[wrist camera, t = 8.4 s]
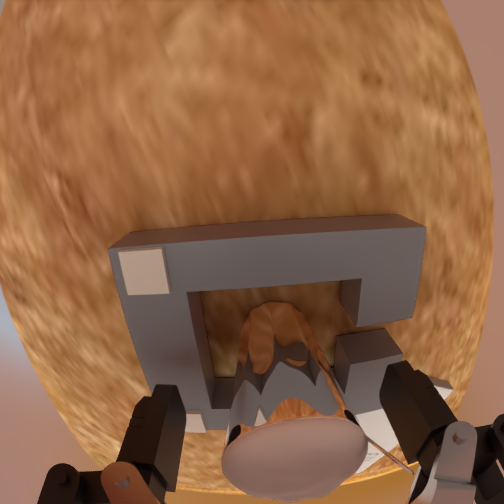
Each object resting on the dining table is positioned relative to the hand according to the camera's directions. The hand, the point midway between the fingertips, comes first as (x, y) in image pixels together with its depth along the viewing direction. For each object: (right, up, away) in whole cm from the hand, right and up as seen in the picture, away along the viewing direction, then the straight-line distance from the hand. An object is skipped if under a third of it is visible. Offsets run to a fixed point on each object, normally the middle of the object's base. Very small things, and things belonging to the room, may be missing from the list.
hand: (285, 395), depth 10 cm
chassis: (0, +1, +5) cm, 5 cm away
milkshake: (0, +2, +5) cm, 5 cm away
